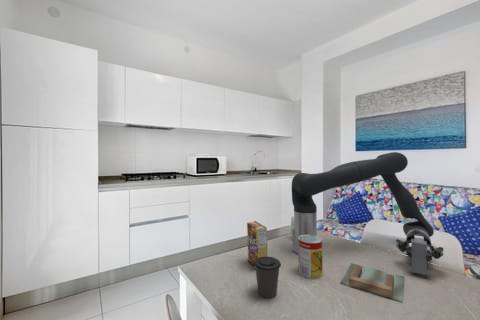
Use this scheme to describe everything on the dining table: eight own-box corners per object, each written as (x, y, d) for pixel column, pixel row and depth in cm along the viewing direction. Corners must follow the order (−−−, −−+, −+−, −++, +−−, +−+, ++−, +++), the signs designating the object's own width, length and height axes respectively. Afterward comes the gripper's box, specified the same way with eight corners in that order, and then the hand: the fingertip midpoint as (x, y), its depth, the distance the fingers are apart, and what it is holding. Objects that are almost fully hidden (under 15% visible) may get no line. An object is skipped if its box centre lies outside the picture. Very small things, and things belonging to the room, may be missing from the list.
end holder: (340, 283, 72) (340, 275, 72) (351, 264, 85) (351, 257, 85) (402, 302, 62) (402, 293, 62) (404, 277, 75) (404, 270, 75)
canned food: (326, 272, 79) (325, 238, 79) (316, 281, 73) (316, 244, 73) (305, 265, 84) (304, 233, 84) (294, 273, 79) (294, 238, 78)
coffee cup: (274, 305, 62) (274, 268, 62) (248, 296, 66) (248, 261, 66) (285, 290, 69) (285, 257, 68) (261, 282, 73) (260, 251, 73)
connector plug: (411, 271, 76) (411, 237, 76) (411, 267, 79) (411, 234, 79) (426, 275, 74) (426, 239, 73) (426, 270, 77) (426, 236, 77)
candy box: (247, 261, 88) (246, 222, 88) (256, 259, 90) (256, 220, 90) (257, 271, 80) (257, 228, 80) (268, 269, 82) (267, 226, 81)
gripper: (396, 227, 92) (392, 240, 78) (442, 234, 83) (448, 250, 70) (395, 246, 92) (392, 261, 78) (442, 255, 83) (448, 274, 70)
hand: (419, 256), depth 74 cm, fingers closed on connector plug, 4 cm apart
